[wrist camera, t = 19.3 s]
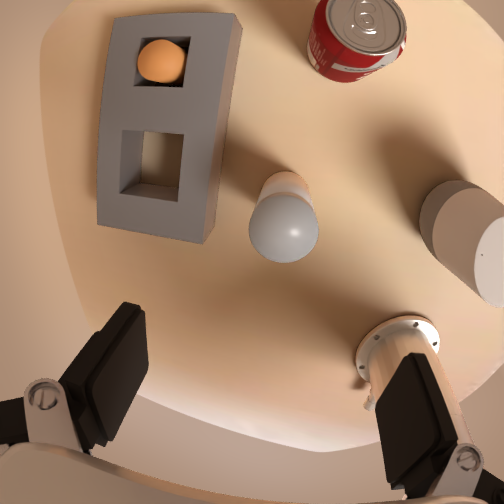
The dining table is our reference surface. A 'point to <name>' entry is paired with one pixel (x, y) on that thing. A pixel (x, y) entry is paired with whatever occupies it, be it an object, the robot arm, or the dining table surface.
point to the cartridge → (284, 219)
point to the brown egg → (163, 62)
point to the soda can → (355, 37)
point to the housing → (166, 124)
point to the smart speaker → (467, 236)
